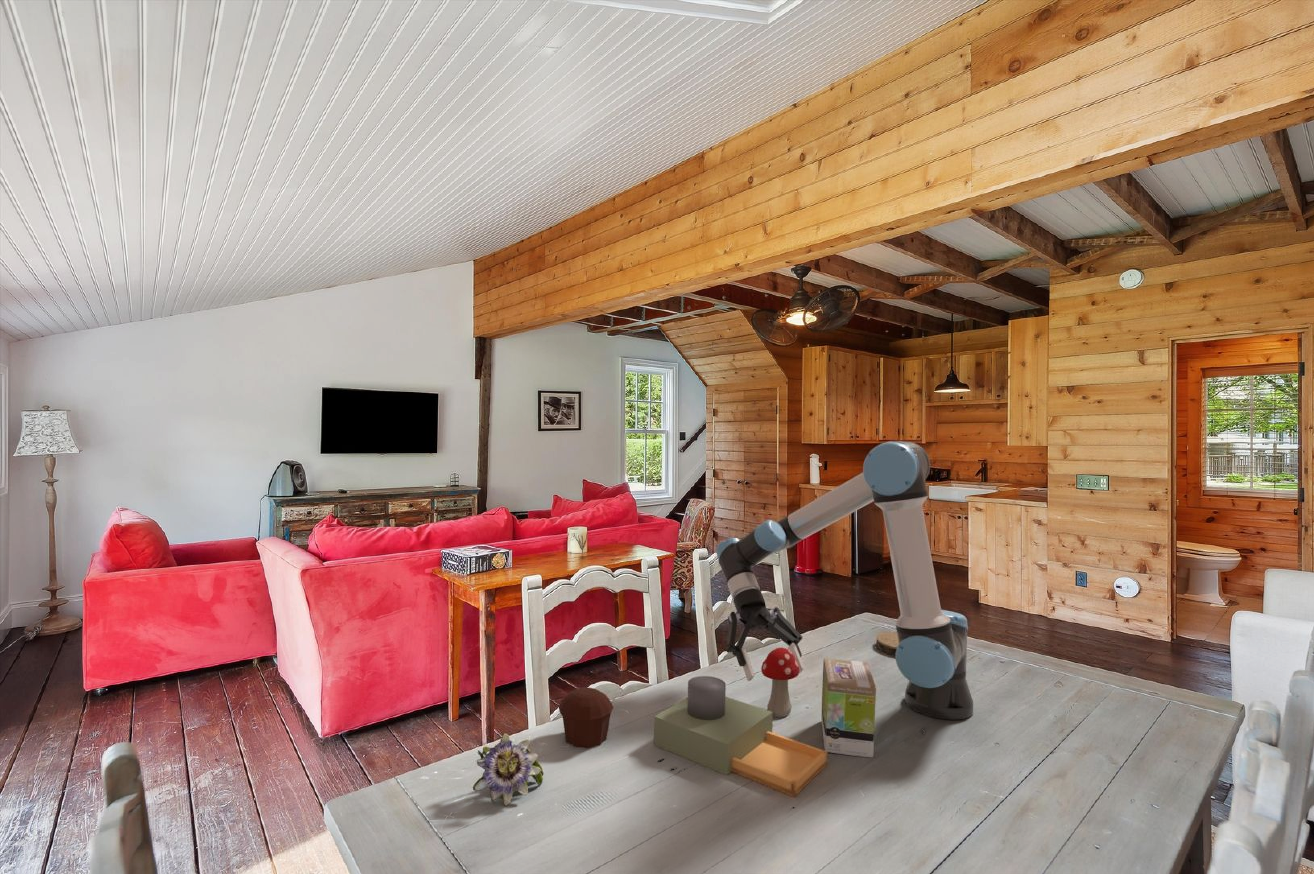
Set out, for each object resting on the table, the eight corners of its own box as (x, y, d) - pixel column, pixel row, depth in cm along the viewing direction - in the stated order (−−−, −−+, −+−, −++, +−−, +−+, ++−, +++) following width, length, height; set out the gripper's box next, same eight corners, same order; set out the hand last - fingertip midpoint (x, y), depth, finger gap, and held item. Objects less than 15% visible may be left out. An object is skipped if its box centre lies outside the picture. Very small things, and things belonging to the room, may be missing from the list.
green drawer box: (830, 760, 129) (832, 701, 129) (790, 801, 115) (791, 735, 114) (702, 714, 148) (703, 663, 148) (653, 744, 134) (654, 687, 134)
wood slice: (881, 657, 188) (881, 647, 188) (872, 639, 203) (872, 630, 203) (938, 661, 185) (938, 651, 185) (925, 643, 201) (925, 633, 201)
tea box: (875, 759, 130) (877, 686, 129) (824, 753, 132) (825, 682, 132) (866, 725, 145) (868, 660, 144) (820, 720, 147) (822, 656, 146)
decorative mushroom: (771, 699, 157) (773, 638, 157) (805, 709, 152) (806, 646, 151) (753, 714, 149) (754, 650, 148) (787, 725, 144) (789, 658, 143)
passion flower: (506, 833, 113) (469, 794, 108) (493, 790, 122) (459, 752, 118) (560, 788, 116) (526, 748, 111) (543, 750, 125) (511, 711, 120)
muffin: (622, 732, 139) (623, 686, 139) (596, 756, 129) (597, 707, 129) (575, 720, 144) (576, 676, 144) (547, 742, 134) (548, 695, 134)
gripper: (782, 598, 171) (814, 674, 158) (697, 606, 162) (723, 688, 149) (794, 583, 166) (828, 661, 153) (707, 590, 157) (735, 674, 144)
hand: (776, 674), depth 151 cm, fingers open, 13 cm apart
